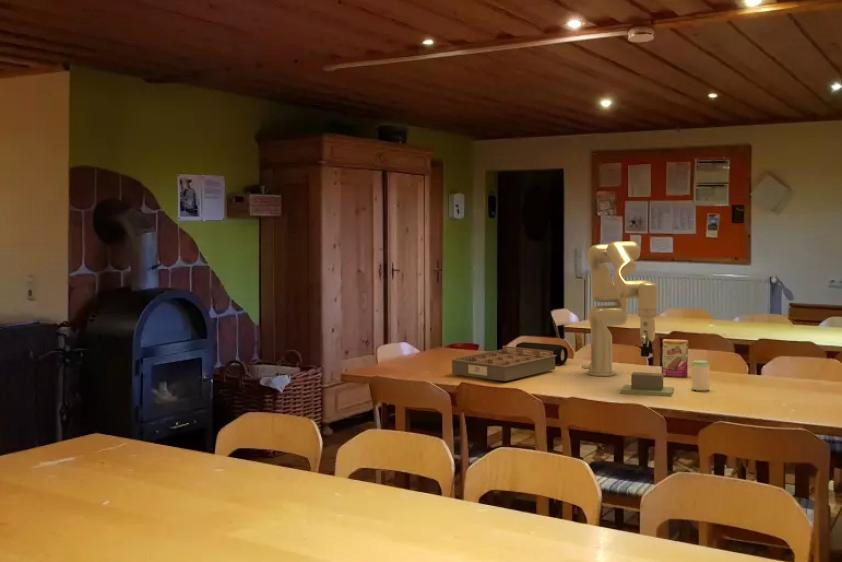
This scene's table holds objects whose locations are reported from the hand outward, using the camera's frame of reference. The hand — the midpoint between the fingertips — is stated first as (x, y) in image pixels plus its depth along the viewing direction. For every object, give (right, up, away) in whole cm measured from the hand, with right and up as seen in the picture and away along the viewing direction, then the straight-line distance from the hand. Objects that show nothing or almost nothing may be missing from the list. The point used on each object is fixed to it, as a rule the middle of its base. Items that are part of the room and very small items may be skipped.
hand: (646, 354), depth 350 cm
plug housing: (0, -14, 0) cm, 14 cm away
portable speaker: (-32, -11, +77) cm, 84 cm away
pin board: (0, -16, 0) cm, 16 cm away
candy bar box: (+22, -13, +35) cm, 43 cm away
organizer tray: (-54, -14, +48) cm, 73 cm away
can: (+23, -15, +3) cm, 28 cm away
